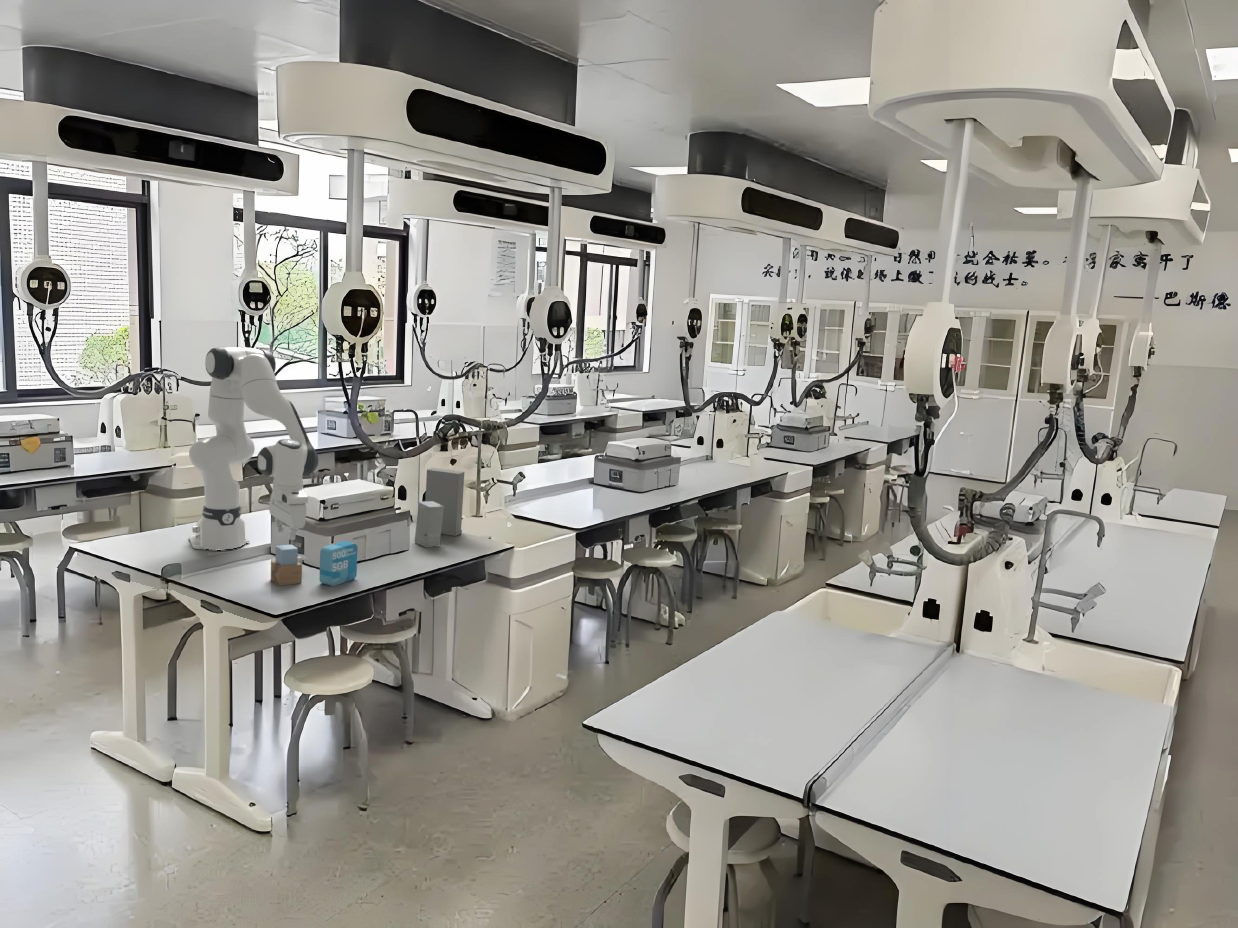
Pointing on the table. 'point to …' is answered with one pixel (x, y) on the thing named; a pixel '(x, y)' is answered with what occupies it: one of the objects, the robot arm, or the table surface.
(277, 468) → the robot arm
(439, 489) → the tall grey upright box
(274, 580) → the cardboard box
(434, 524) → the skincare box
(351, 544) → the data package
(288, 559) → the slate-blue block
